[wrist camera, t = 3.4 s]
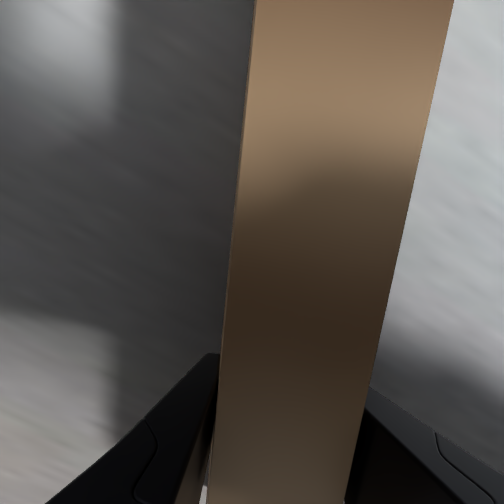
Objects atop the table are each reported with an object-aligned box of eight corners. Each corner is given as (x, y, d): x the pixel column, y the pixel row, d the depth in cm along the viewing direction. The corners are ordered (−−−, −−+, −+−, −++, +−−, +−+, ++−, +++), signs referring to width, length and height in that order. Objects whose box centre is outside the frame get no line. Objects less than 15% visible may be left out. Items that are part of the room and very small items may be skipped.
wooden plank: (283, 487, 11) (311, 647, 7) (207, 485, 11) (192, 652, 7) (372, -55, 7) (525, -325, 4) (261, -77, 7) (295, -396, 3)
